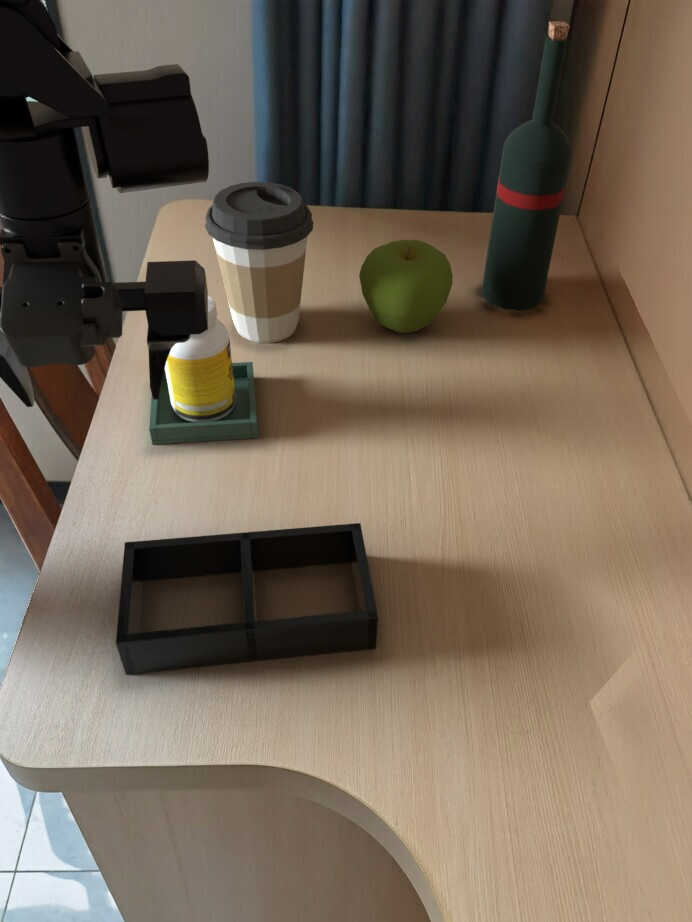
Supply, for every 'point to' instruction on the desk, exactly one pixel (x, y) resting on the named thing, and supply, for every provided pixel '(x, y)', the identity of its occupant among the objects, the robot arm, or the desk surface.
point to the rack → (250, 635)
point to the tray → (232, 426)
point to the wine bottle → (529, 193)
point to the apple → (405, 284)
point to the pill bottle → (202, 373)
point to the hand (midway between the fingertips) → (94, 400)
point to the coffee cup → (261, 256)
